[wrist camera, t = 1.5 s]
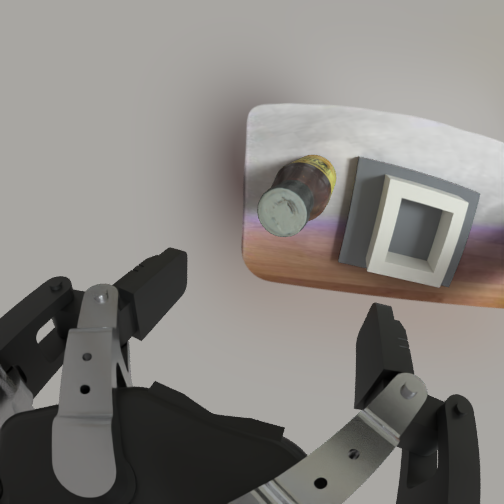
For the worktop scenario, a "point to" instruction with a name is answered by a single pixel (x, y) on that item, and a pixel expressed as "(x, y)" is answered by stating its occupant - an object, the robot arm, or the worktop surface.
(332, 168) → the sauce bottle
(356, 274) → the worktop surface
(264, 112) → the worktop surface
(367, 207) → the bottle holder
